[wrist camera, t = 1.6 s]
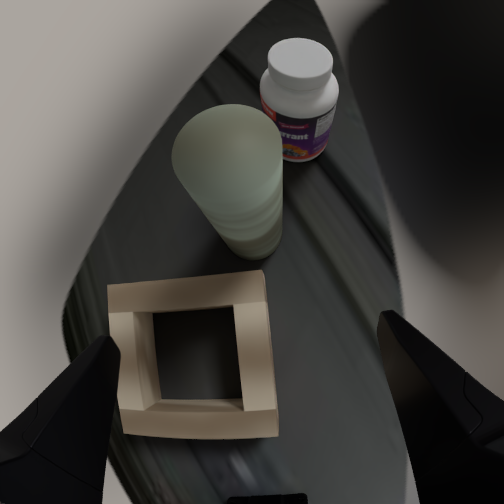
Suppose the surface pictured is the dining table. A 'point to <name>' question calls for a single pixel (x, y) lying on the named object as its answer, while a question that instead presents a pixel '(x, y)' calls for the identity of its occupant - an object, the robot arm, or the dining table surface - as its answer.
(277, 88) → the pill bottle
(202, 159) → the peg
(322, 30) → the dining table surface
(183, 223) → the dining table surface
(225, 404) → the holder
